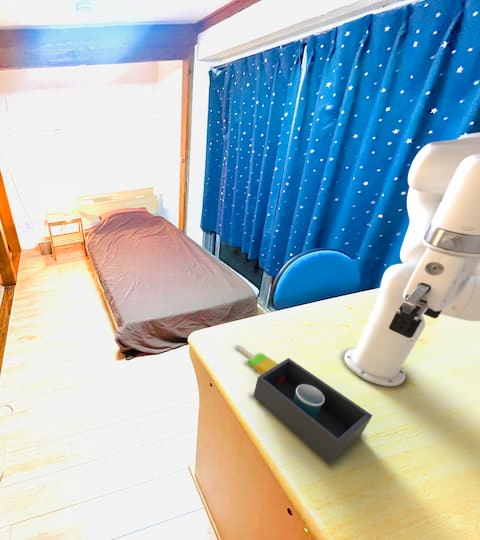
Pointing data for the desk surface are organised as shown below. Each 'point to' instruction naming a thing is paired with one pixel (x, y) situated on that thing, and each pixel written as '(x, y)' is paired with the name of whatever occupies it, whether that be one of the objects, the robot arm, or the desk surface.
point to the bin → (299, 422)
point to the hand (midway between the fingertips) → (413, 323)
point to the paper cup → (309, 399)
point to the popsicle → (261, 363)
